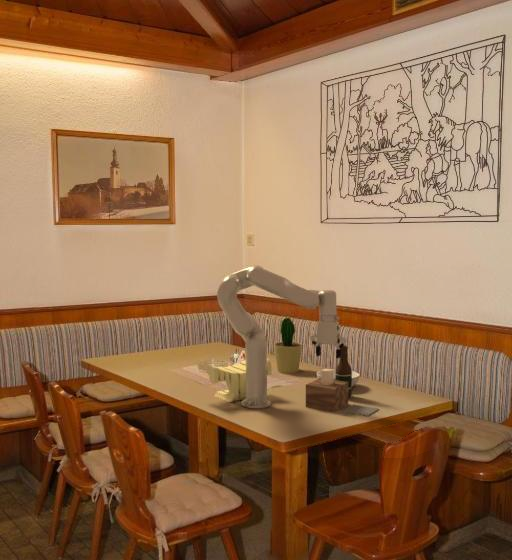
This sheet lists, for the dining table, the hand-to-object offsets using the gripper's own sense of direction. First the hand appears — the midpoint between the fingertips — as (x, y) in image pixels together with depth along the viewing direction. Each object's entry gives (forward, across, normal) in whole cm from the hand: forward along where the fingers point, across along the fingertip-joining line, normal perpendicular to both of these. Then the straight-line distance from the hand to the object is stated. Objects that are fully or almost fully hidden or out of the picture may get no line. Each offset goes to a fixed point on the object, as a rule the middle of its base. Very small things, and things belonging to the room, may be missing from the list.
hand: (328, 356), depth 290 cm
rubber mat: (+22, -15, 0) cm, 27 cm away
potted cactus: (+22, +49, -49) cm, 72 cm away
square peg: (+18, +1, 0) cm, 18 cm away
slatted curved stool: (+21, +43, +11) cm, 49 cm away
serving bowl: (+22, +11, -32) cm, 40 cm away
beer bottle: (+22, +1, -17) cm, 28 cm away
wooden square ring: (+22, +1, 0) cm, 22 cm away
